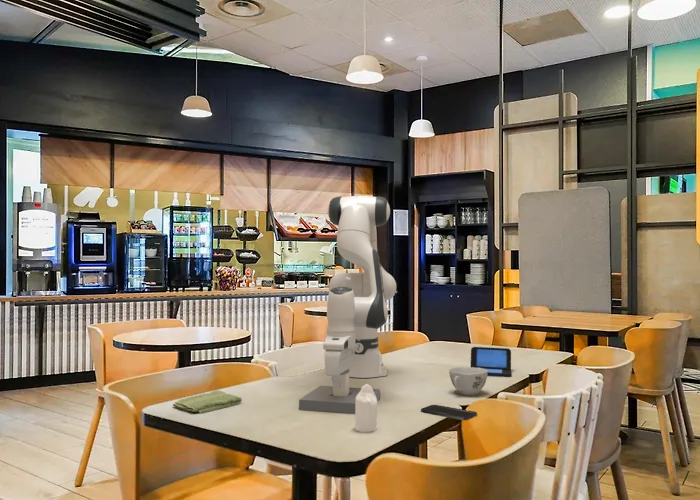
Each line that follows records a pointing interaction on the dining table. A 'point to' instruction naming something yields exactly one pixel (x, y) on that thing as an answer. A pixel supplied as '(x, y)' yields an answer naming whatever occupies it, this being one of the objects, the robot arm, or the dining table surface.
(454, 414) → the phone
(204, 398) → the washcloth
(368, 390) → the white bottle
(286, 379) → the dining table surface
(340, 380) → the charger plug
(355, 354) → the robot arm
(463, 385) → the teacup
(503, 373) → the handheld game console
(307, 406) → the grey socket board
